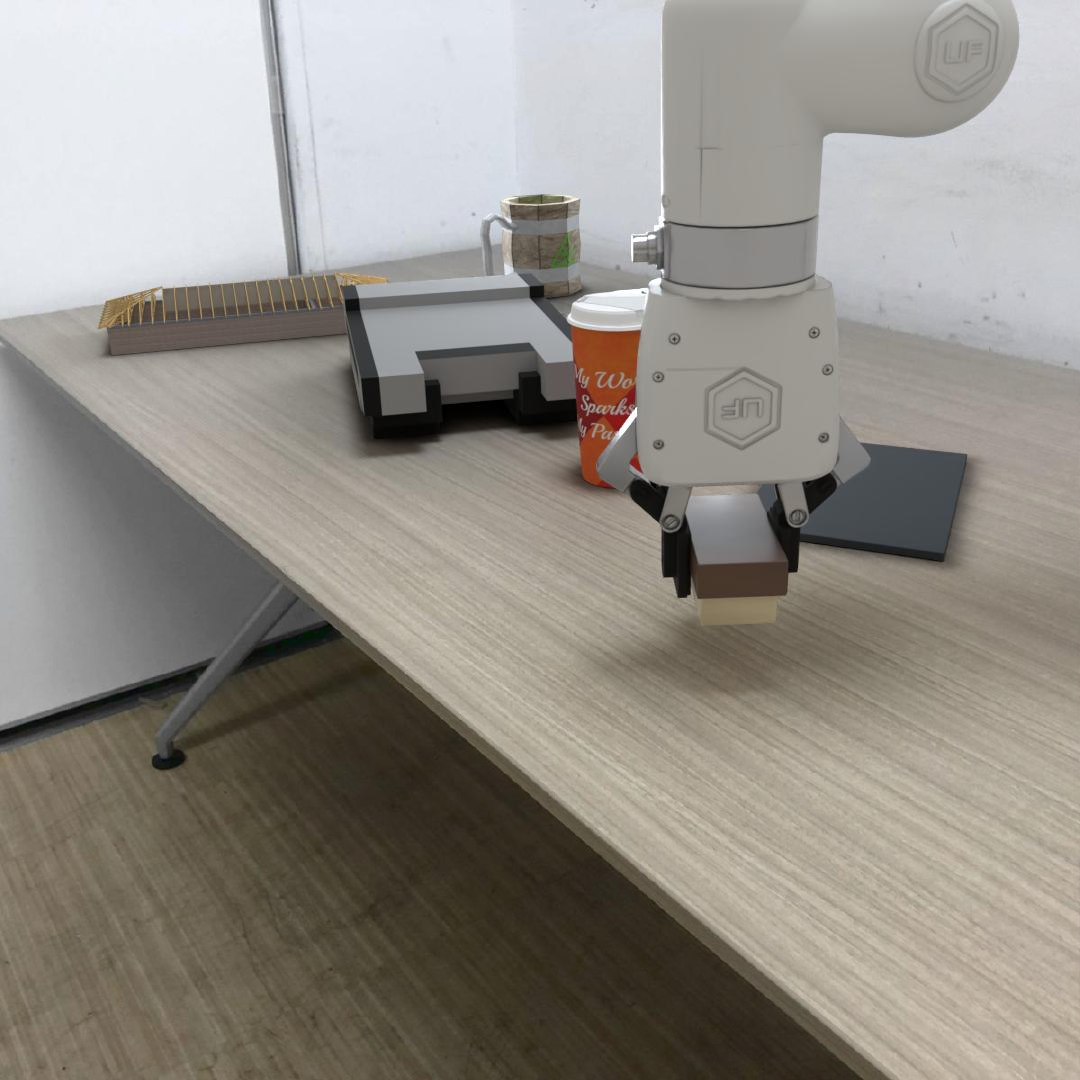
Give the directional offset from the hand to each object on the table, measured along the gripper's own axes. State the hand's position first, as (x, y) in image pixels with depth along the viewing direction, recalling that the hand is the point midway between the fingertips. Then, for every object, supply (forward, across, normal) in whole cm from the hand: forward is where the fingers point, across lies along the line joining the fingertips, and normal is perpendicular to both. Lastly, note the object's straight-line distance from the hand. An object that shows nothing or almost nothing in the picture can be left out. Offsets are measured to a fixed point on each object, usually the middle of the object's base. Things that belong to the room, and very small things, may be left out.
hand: (728, 582), depth 62 cm
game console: (+4, -19, +51) cm, 54 cm away
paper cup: (+5, -5, +28) cm, 29 cm away
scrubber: (+1, 0, 0) cm, 1 cm away
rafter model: (+4, -46, +80) cm, 92 cm away
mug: (+5, -13, +97) cm, 98 cm away
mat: (+5, +13, +23) cm, 27 cm away
